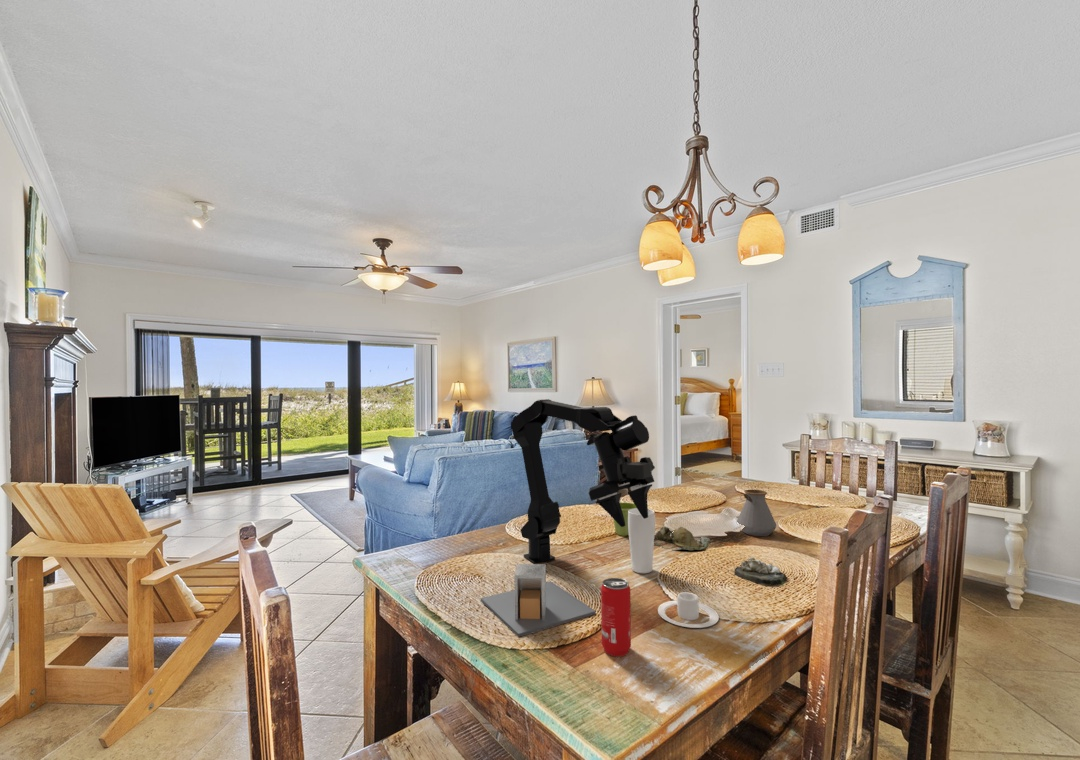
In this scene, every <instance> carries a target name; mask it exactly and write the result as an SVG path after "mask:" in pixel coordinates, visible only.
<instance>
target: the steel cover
mask: <svg viewBox="0 0 1080 760" xmlns="http://www.w3.org/2000/svg"><path fill="white" fill-rule="evenodd" d="M546 566H547V565H546V564H543V563H542V564H541V563H518V564H517V565H516V568H515V572H514V576H513V577H514V583H513V584H514V590H515V620H518V617H519V612H520V596H521V592H522V590H537V591H541V608H542V621H545V614H546V582H547V581H546V580H547V575H546V574H547V571H546V570H547V567H546Z"/></svg>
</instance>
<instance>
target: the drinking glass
mask: <svg viewBox="0 0 1080 760" xmlns="http://www.w3.org/2000/svg"><path fill="white" fill-rule="evenodd" d="M655 513H656V512H655V511H654V510H653V509H650V508H648V518H645V519H644V518H643V517H642V515H641V514H640V512H639V511H638V509H637V508H633V509H630V510H629V511H628V532H629V535H628V539H629V540H628V541H629V551H630V553H629V554H630V564H631V565H630V567H631V570H632V571H633V572H635V573H637V574H651V572H653V564H654V550H655V549H654V548H655V547H654V546H655V544H654V543H655V539H654V537H655V535H656V515H655Z"/></svg>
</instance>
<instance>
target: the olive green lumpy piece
mask: <svg viewBox="0 0 1080 760" xmlns="http://www.w3.org/2000/svg"><path fill="white" fill-rule="evenodd" d="M673 531H674V532H673ZM672 532H673V533H672ZM700 538H701V539H698V538H695V537H694V535H693V533H692V532H691V531H690V530H688V529H687V528H685V527H683V526H679V527H678V528H675V529H674V530H672V529H670V527H668V526H662V527H660V528H659V530H657V532H655V537H654V540H655V539H656V540H659V541H660V542H663V543H667V544H672V545H675V546H677V547H679V548H676V549H671V551H678V550H681V551H682V550H688V551H695V550H697V551H701V550H707V549H708V547H709V545H710V542H711V539H710V538H709V537H707V536H700ZM654 545H656V546H657V547H660V546H661V548H662V549H664V550H670V548H668V547H664V545H663V544H662V543H658V542H657V543H656V542H654Z"/></svg>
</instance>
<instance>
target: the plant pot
mask: <svg viewBox="0 0 1080 760" xmlns="http://www.w3.org/2000/svg"><path fill="white" fill-rule="evenodd" d="M620 505H621V509H622V512H623V516H624V520H625V526H624V527H621V526H620V525H619V524H618V523H617V522H616V521H615V520H614V519H613V524H614V531H615V533H616V535H618V536H623V537H626V536H629V532H628V511H629V510H630V509H633V508H637V507H636V506H635V504H634V502H626V501H625V502H620Z"/></svg>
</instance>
